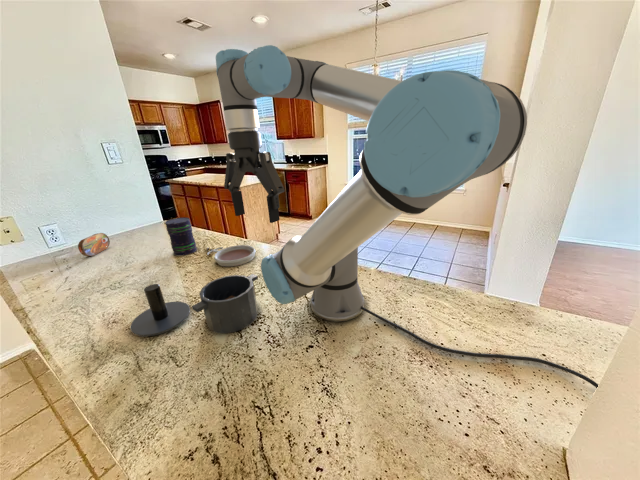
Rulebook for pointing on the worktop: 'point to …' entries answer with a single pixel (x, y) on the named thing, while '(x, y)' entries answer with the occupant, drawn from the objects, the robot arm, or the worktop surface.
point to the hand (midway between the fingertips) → (256, 218)
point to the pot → (228, 303)
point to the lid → (159, 314)
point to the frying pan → (233, 255)
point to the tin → (93, 244)
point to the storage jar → (181, 236)
